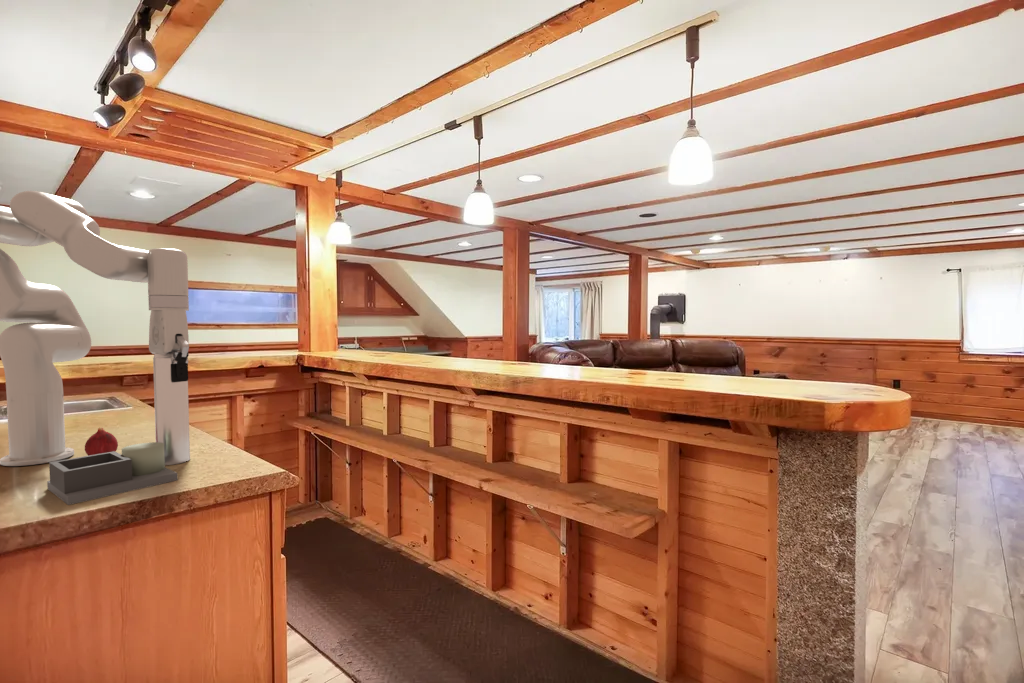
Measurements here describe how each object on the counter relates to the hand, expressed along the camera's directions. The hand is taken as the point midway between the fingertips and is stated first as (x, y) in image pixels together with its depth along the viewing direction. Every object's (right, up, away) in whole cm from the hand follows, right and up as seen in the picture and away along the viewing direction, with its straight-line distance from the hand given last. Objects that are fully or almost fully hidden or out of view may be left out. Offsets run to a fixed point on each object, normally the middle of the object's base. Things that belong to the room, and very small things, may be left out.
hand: (171, 379), depth 115 cm
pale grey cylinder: (0, -19, +1) cm, 19 cm away
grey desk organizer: (-1, -19, -15) cm, 25 cm away
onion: (-16, -19, 0) cm, 25 cm away
